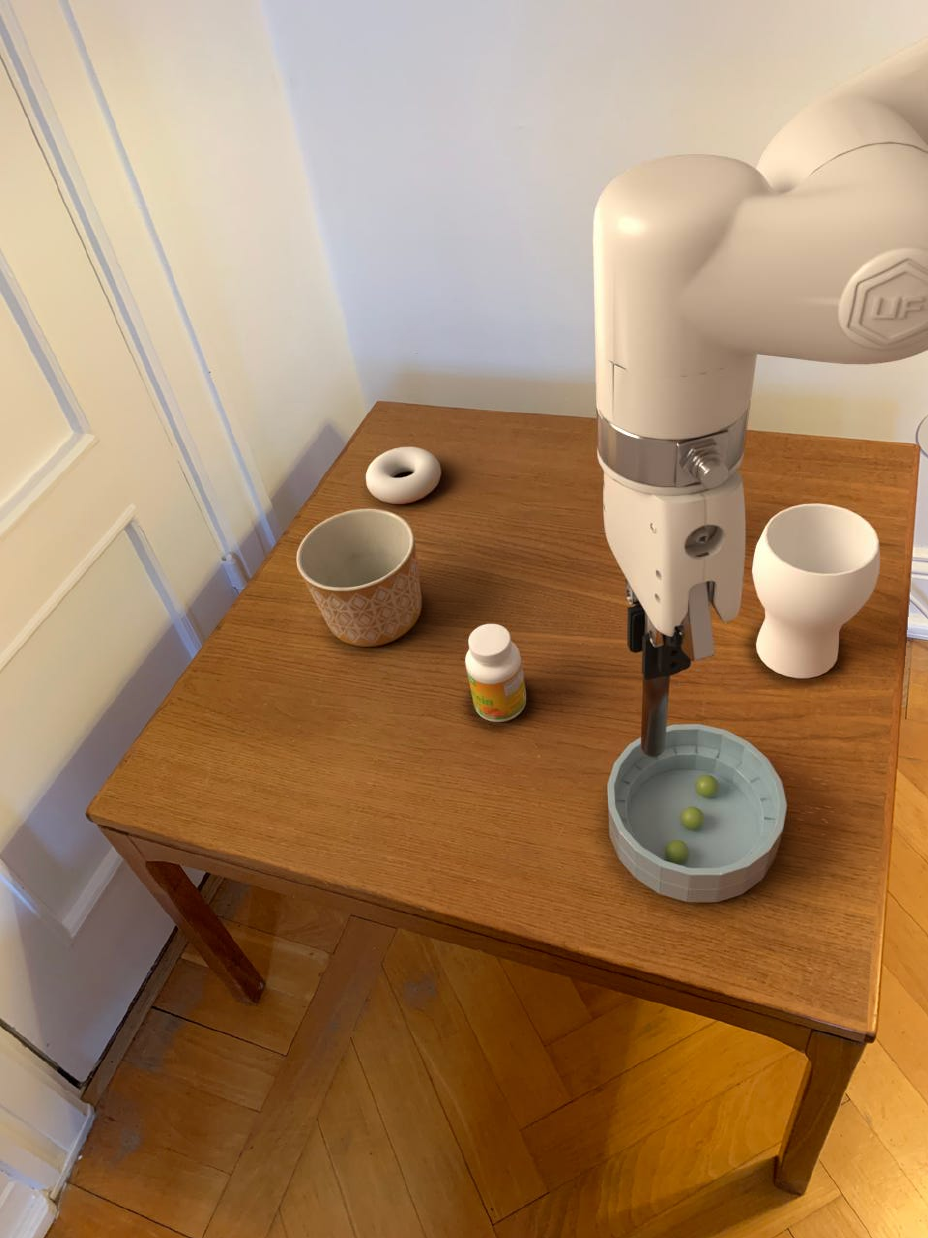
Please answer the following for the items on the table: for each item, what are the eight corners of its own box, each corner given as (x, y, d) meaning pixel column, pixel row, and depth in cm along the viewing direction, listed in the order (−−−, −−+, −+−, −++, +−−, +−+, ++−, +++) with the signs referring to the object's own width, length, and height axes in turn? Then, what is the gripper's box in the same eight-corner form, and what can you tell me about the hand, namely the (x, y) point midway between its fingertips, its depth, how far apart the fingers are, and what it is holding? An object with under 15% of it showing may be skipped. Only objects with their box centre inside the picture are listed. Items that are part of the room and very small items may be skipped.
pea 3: (711, 779, 77) (713, 767, 75) (721, 798, 76) (723, 786, 74) (690, 786, 77) (692, 774, 75) (700, 804, 75) (702, 792, 74)
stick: (659, 739, 66) (668, 586, 54) (668, 758, 65) (680, 606, 53) (636, 746, 66) (641, 594, 54) (645, 764, 65) (652, 613, 53)
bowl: (730, 741, 80) (736, 705, 76) (809, 876, 70) (820, 844, 66) (586, 784, 79) (584, 750, 75) (646, 927, 69) (647, 897, 65)
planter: (446, 584, 100) (431, 515, 92) (405, 666, 92) (385, 598, 84) (349, 568, 104) (328, 501, 96) (302, 645, 96) (275, 579, 89)
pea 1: (682, 844, 73) (683, 832, 72) (692, 865, 72) (694, 853, 70) (660, 851, 73) (661, 839, 72) (670, 872, 72) (671, 860, 70)
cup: (739, 684, 84) (756, 576, 73) (742, 606, 91) (757, 496, 80) (856, 696, 81) (891, 584, 71) (850, 614, 88) (881, 501, 77)
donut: (457, 475, 114) (400, 453, 118) (454, 454, 111) (396, 432, 116) (410, 519, 109) (353, 494, 114) (405, 498, 106) (347, 474, 111)
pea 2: (697, 811, 75) (699, 799, 74) (707, 830, 74) (709, 819, 72) (676, 817, 75) (677, 806, 73) (685, 837, 74) (686, 825, 72)
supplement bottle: (463, 705, 87) (448, 642, 80) (499, 672, 90) (488, 609, 82) (501, 733, 84) (489, 670, 77) (537, 699, 87) (529, 635, 79)
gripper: (819, 500, 39) (767, 734, 52) (676, 338, 50) (664, 567, 63) (662, 542, 38) (651, 768, 52) (553, 369, 49) (566, 593, 63)
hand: (658, 656), depth 57 cm, fingers closed on stick, 1 cm apart
